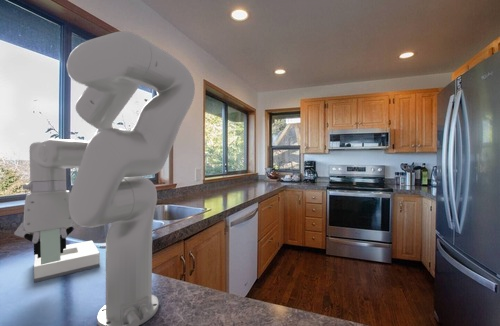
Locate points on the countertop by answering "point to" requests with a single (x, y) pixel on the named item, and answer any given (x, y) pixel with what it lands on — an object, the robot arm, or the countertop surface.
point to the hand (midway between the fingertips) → (50, 253)
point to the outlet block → (68, 261)
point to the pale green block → (50, 246)
